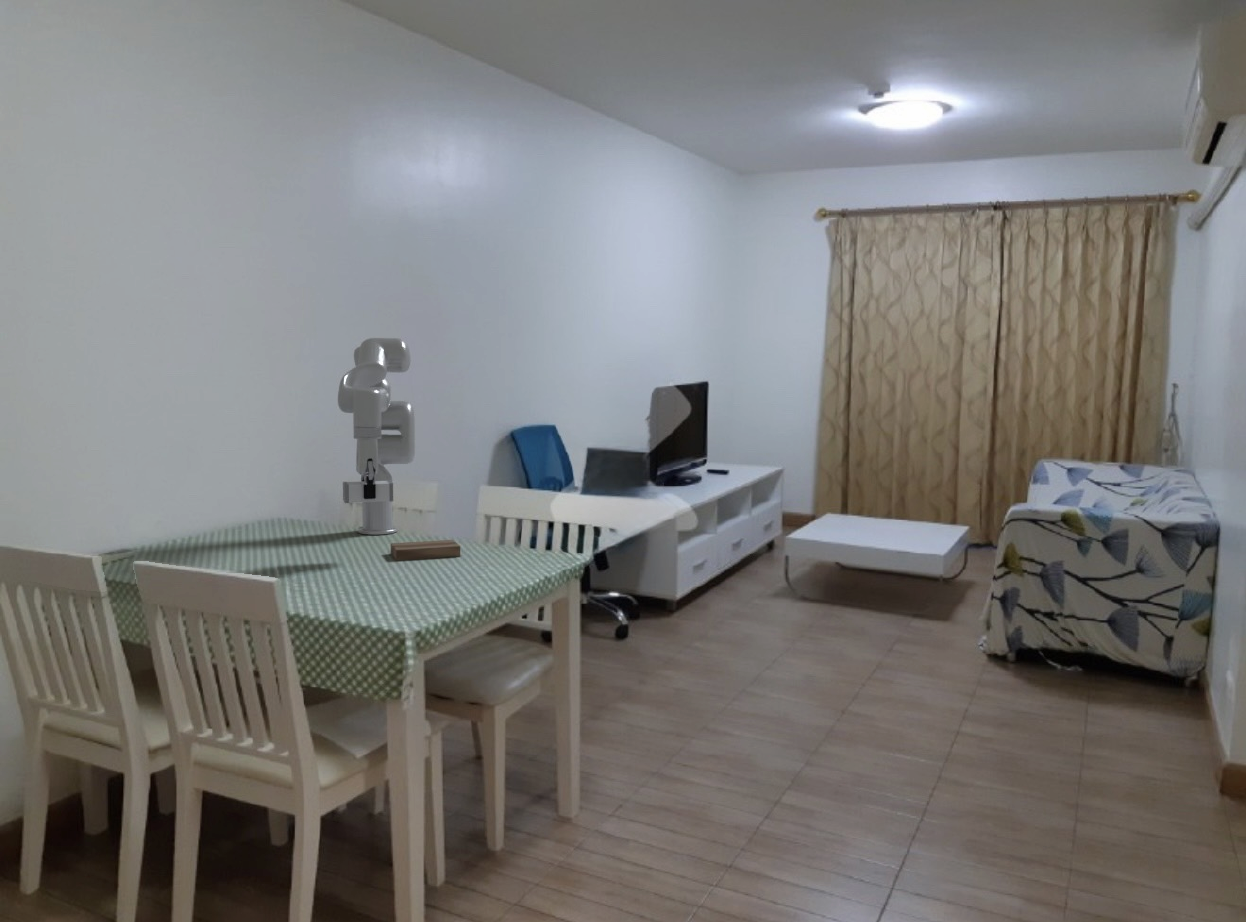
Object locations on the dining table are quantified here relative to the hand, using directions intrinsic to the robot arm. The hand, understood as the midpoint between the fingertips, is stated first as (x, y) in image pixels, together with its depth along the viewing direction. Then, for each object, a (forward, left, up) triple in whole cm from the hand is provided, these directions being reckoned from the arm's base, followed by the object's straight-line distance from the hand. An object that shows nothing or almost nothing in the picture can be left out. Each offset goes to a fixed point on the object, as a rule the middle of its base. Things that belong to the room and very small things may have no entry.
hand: (368, 496), depth 270 cm
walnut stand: (+2, +16, -17) cm, 23 cm away
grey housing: (0, 0, -1) cm, 1 cm away
